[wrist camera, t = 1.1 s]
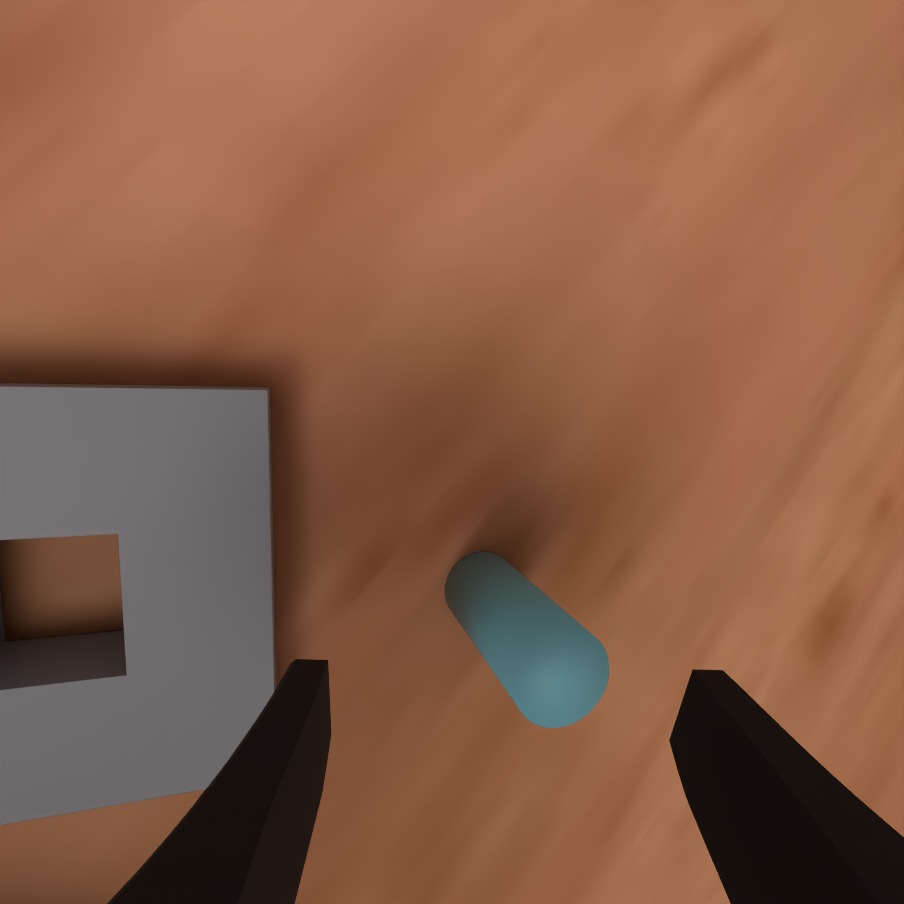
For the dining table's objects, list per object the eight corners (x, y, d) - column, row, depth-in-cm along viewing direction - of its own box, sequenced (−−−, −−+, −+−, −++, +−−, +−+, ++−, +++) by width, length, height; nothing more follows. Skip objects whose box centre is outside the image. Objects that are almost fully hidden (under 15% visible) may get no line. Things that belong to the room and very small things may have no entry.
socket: (277, 718, 24) (276, 776, 20) (-138, 779, 20) (-226, 864, 16) (269, 387, 22) (267, 390, 18) (-192, 379, 18) (-305, 382, 14)
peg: (513, 618, 26) (605, 719, 19) (444, 626, 25) (512, 735, 18) (516, 548, 26) (612, 623, 18) (445, 554, 25) (516, 635, 17)
